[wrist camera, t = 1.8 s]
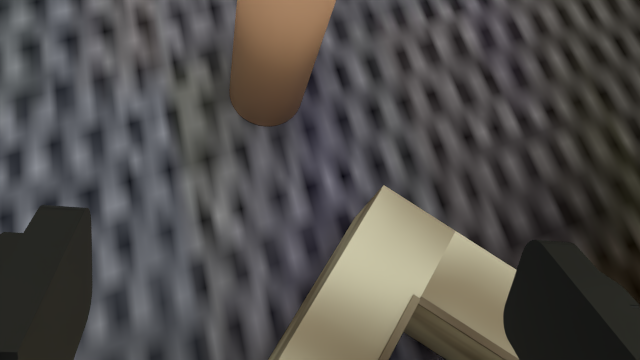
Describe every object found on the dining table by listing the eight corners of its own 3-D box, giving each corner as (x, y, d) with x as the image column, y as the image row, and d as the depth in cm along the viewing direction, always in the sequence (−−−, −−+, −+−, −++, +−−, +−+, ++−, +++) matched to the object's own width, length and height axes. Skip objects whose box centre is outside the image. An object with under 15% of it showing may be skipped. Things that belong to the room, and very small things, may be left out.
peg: (255, 48, 31) (284, -142, 20) (315, 86, 31) (377, -84, 20) (215, 100, 30) (221, -72, 19) (277, 139, 30) (320, -10, 18)
